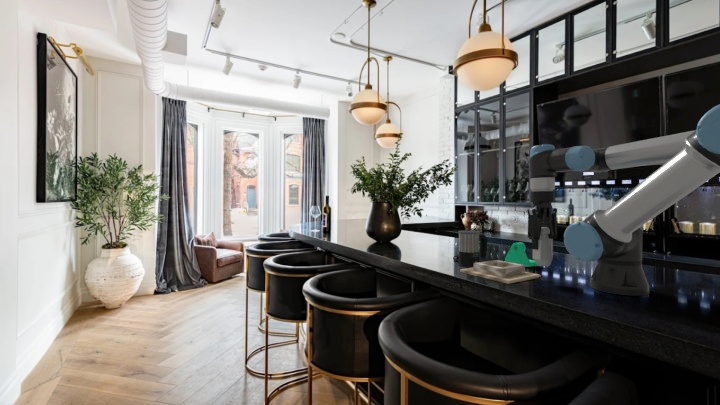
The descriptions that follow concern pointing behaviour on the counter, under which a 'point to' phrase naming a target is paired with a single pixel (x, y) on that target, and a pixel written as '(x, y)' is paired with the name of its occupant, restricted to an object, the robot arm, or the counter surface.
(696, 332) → the counter surface
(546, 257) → the salt shaker
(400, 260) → the counter surface
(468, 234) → the milk frother
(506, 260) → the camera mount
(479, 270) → the socket holder
